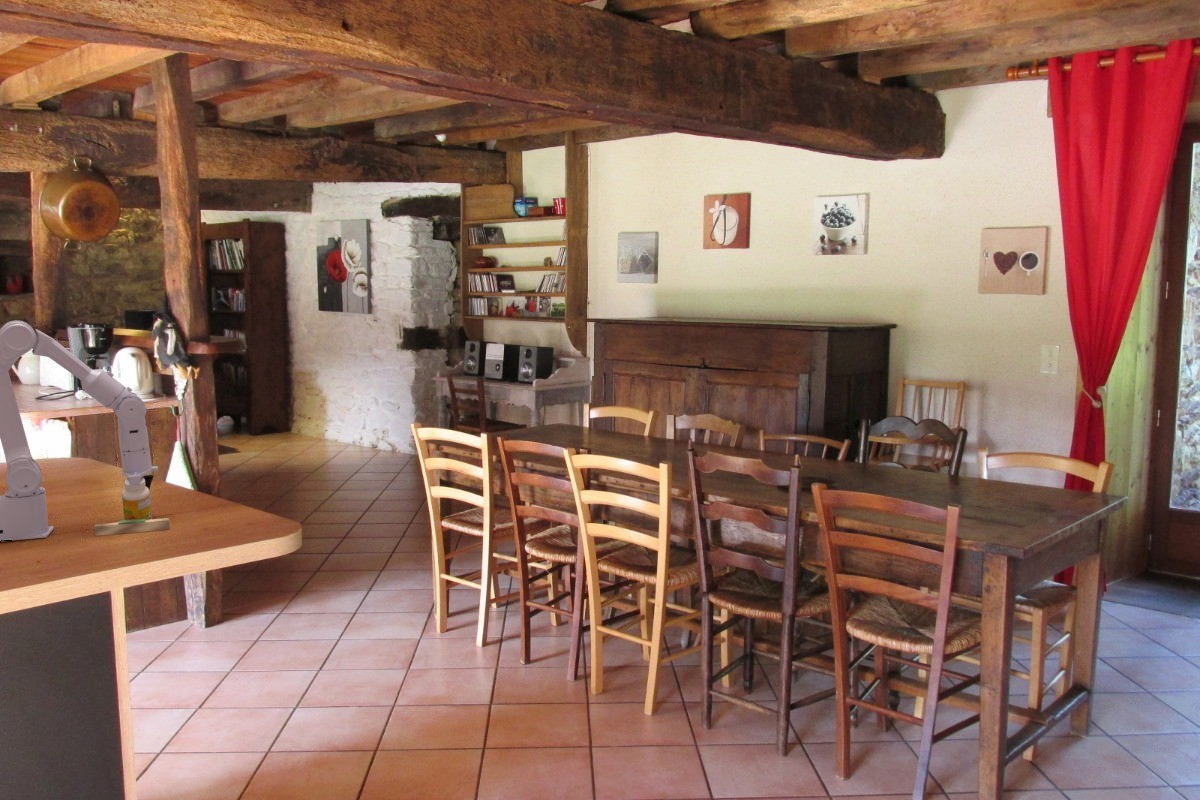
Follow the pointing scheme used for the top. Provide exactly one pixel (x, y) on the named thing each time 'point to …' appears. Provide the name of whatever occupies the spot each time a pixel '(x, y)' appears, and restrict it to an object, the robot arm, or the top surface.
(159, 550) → the top surface
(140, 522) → the stop rail
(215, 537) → the top surface
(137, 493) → the supplement bottle
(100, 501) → the top surface
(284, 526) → the top surface
